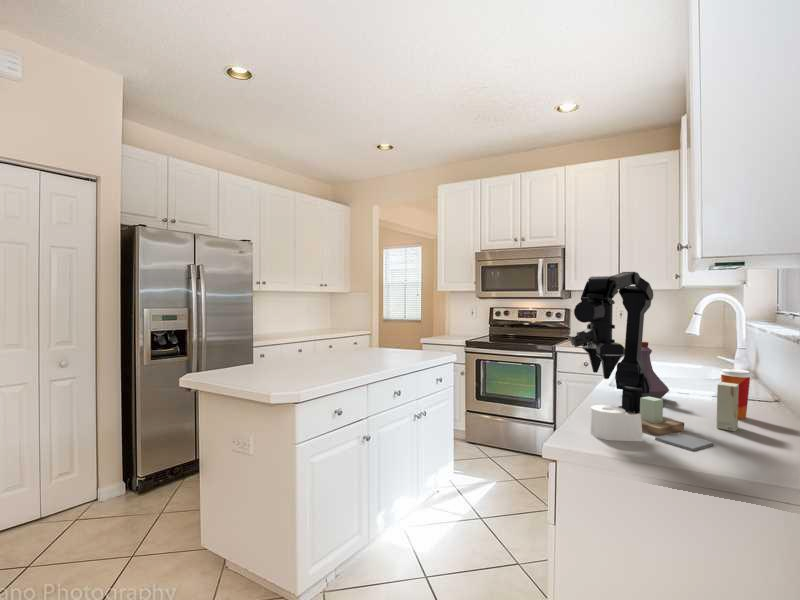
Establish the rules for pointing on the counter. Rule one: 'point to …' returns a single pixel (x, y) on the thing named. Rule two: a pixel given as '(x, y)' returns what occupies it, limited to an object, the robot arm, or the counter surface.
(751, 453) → the counter surface
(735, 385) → the skincare box
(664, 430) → the pocket block
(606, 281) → the robot arm
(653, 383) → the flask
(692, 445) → the coaster
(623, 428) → the toilet paper
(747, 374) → the paper cup
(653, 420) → the green block
